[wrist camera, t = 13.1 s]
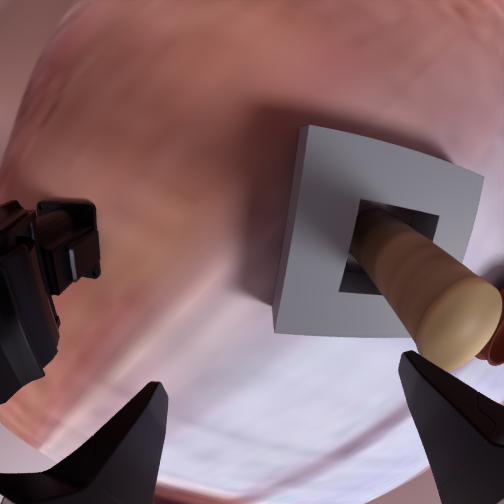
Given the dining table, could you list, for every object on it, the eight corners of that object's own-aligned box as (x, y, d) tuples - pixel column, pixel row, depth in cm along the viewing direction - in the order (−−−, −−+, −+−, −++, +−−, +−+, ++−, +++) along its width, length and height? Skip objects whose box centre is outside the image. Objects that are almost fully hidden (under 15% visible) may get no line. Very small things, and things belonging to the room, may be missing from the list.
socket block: (271, 306, 23) (274, 333, 20) (299, 127, 18) (309, 124, 15) (415, 315, 24) (431, 336, 21) (458, 169, 19) (484, 176, 15)
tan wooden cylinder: (335, 249, 21) (404, 362, 10) (364, 196, 20) (472, 268, 8) (379, 271, 22) (458, 377, 10) (408, 223, 21) (513, 303, 9)
